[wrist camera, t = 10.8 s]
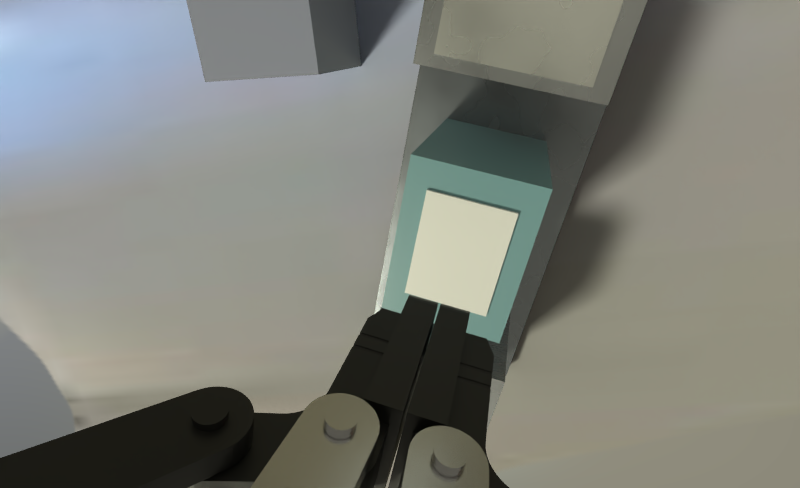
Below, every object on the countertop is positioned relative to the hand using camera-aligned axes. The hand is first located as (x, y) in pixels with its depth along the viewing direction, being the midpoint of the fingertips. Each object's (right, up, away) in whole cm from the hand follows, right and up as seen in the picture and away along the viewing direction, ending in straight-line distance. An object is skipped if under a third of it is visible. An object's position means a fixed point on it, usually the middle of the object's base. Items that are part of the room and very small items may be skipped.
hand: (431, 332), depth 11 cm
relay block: (-5, +13, +10) cm, 17 cm away
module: (+3, +5, +11) cm, 12 cm away
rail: (+3, +5, +11) cm, 13 cm away
